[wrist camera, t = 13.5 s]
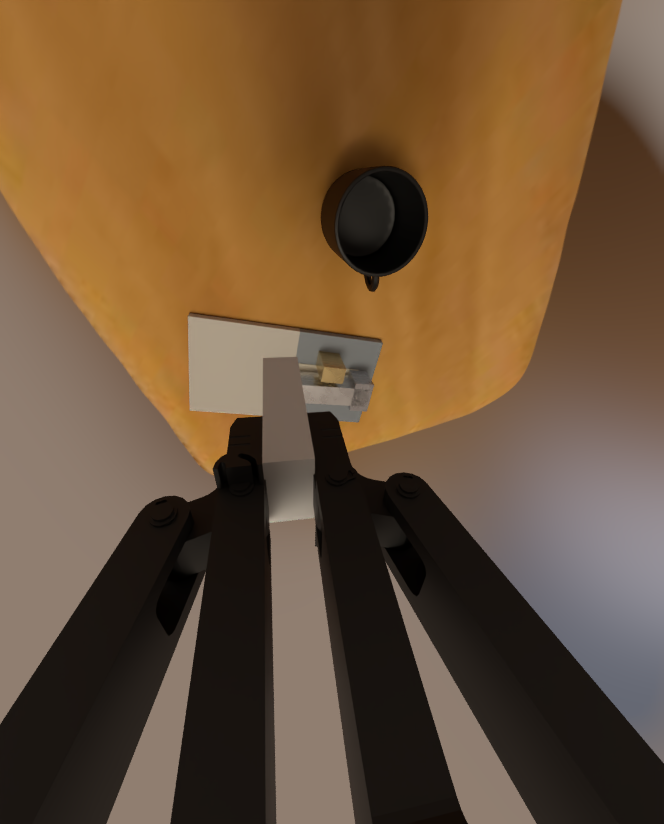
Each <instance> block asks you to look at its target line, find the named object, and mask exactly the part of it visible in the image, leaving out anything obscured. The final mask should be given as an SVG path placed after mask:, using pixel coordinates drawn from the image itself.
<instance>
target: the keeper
mask: <svg viewBox="0 0 664 824" xmlns="http://www.w3.org/2000/svg"><path fill="white" fill-rule="evenodd" d="M316 367H317V371H318V374H319V377H320V380H321V382H327V383H337V384H343V381H344V377H345V373H346V367H345V365H344V363H343V361H342V359H341V356H340V354H339V353H332V352H324V351H318V356H317V361H316Z"/></svg>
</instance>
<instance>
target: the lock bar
mask: <svg viewBox="0 0 664 824" xmlns="http://www.w3.org/2000/svg"><path fill="white" fill-rule="evenodd" d="M300 376H301V382H302V387H303V393H304V399H305V403H308V404H326V405H345V406H348V408H349V411H367V408H368V405H369V401H370V398H371V394H372V390H373V387H374V384H373V382H372V380H371V379H370V377H369V375H368V373H367V372H366V371H354V370H350V371H349V375H345V377H344V381H343V384H337V383H327V382H321V380H320V377H319V374H318V373H316V372H303V371H300Z"/></svg>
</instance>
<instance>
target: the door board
mask: <svg viewBox="0 0 664 824" xmlns="http://www.w3.org/2000/svg"><path fill="white" fill-rule="evenodd" d="M382 344H383V343H382V341H381V340H378V339H371V338H364V337H356V336H349V335H342V334H335V333H328V332H321V331H314V330H307V329H299V328H292V327H285V326H278V325H271V324H264V323H257V322H250V321H243V320H235V319H228V318H221V317H214V316H207V315H200V314H193V313H189V315H188V345H189V397H190V410H191V411H205V412H219V413H234V414H248V415H262V416H263V358H276V357H297V359H298V364H299V370H300V371H303V372H316V373H318V371H317V367H316V361H317V356H318V351H324V352H332V353H339V354H340V356H341V359H342V361H343V363H344V365H345V367H346V373H345V375H349V371H350V370H354V371H366V372H367V373H368V375H369V377H370V379H371V380H372V377H373V374H374V370H375V367H376V364H377V360H378V357H379V354H380V351H381V347H382ZM305 404H306V410H307V413H310V412H325V411H330V412H331V413H332V414H333V415H334V416H335V417H336V418H337V419H338V421H347V422H359V420H360V416H361V413H362V411H349V408H348V406H345V405H326V404H308V403H305Z"/></svg>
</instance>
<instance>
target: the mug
mask: <svg viewBox="0 0 664 824" xmlns="http://www.w3.org/2000/svg"><path fill="white" fill-rule="evenodd" d="M321 225H322V230H323V234H324V237H325V239H326V241H327V243H328V245H329V246H330V248H331V249H332V250H333V251H334V252H335V253H336V254H337V255H338V256H339V257H340V258H342V259H343V260H344V261H345V262H346V263H347V264H348V265H349V266H350V267H351V268H353V269H354V270H355V271H357V272H359V273H361V274H363V275H364V278H365V283H366V286H367V288H368V290H369V291H371V292H374V291H375V290H376V289H377V287H378V284H379V277H382V276H386V275H390V274H392V273H395V272H397V271H399V270H400V269H402V268H403V267H404V266H406V265H407V264H408V263H409V262H410V261H411V260H412V259H413V258H414V256H415V255H416V254H417V252H418V250H419V249H420V247H421V245H422V243H423V240H424V238H425V234H426V231H427V225H428V207H427V202H426V198H425V195H424V193H423V191H422V188H421V187H420V185H419V184H418V182H417V181H416V180H415V179H414V178H413V177H412V176H411V175H410V174H409V173H407V172H406V171H404V170H402V169H399V168H396V167H392V166H378V167H370V168H362V169H356V170H352V171H349V172H347V173H345V174H344V175H342V176H341V177H339V178H338V179H337V180H336V181H335V182H334V183H333V185H332V186H331V187H330V189H329V190H328V192H327V194H326V196H325V199H324V202H323V205H322V211H321ZM371 276H372V279H371Z"/></svg>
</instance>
